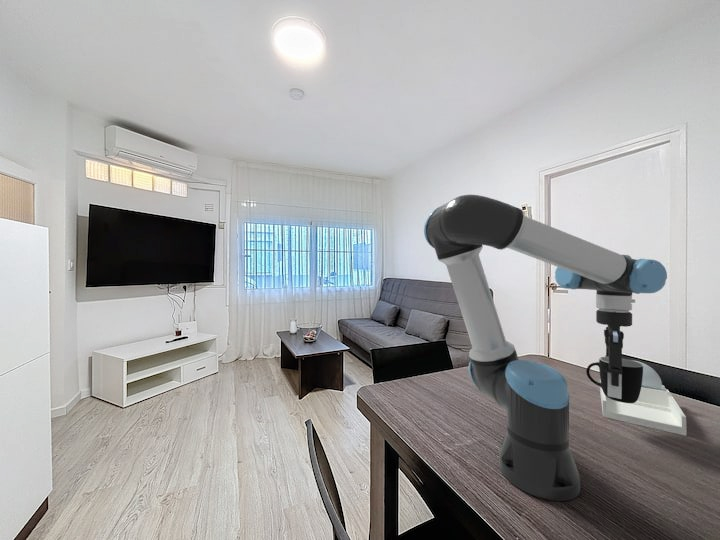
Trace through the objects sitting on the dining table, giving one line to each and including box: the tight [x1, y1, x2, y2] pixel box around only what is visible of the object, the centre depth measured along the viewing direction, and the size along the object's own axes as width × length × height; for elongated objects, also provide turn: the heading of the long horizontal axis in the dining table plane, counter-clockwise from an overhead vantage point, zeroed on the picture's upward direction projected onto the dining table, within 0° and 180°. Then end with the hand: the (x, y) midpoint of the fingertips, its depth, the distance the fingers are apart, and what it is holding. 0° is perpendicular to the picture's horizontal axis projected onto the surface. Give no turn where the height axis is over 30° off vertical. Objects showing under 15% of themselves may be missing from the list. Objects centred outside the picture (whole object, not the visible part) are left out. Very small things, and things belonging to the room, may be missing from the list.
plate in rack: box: [631, 359, 663, 390], centre depth 96 cm, size 1×13×13 cm, turn 52°
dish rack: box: [599, 378, 687, 437], centre depth 91 cm, size 22×17×6 cm
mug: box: [585, 356, 643, 403], centre depth 80 cm, size 12×9×10 cm
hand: (613, 391), depth 80 cm, fingers closed on mug, 9 cm apart
